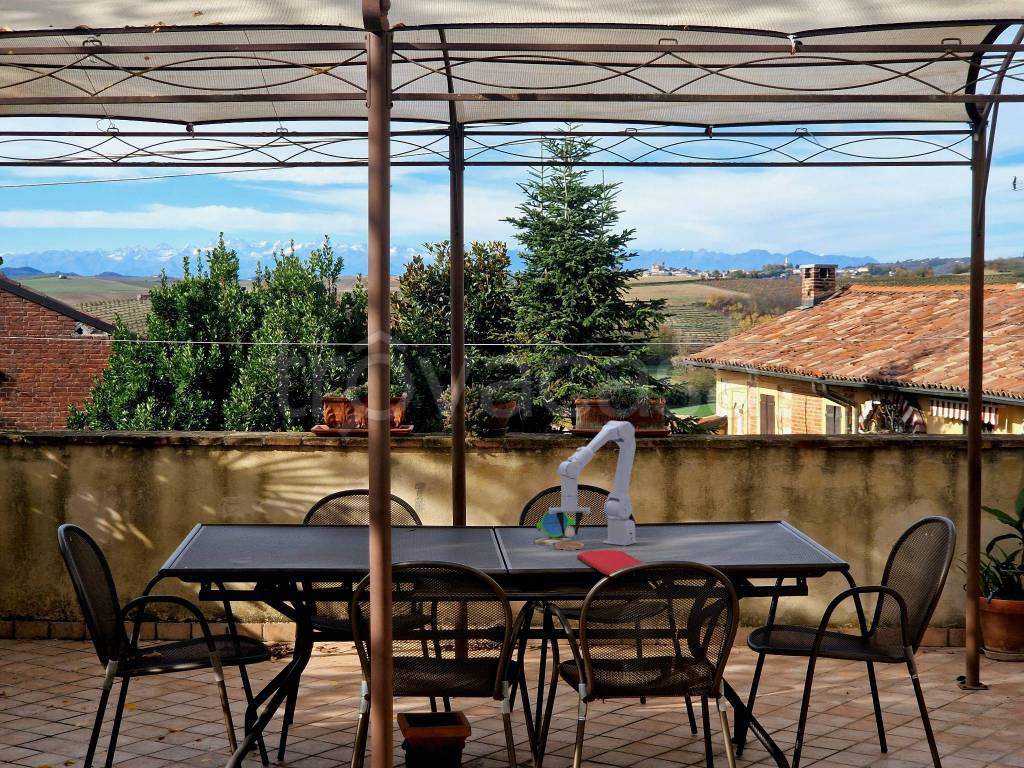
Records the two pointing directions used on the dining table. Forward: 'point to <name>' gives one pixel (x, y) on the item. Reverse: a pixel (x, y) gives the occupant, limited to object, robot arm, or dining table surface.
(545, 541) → the tray
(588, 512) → the robot arm
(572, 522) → the snack cup
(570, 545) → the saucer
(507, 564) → the dining table surface
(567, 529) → the ball
